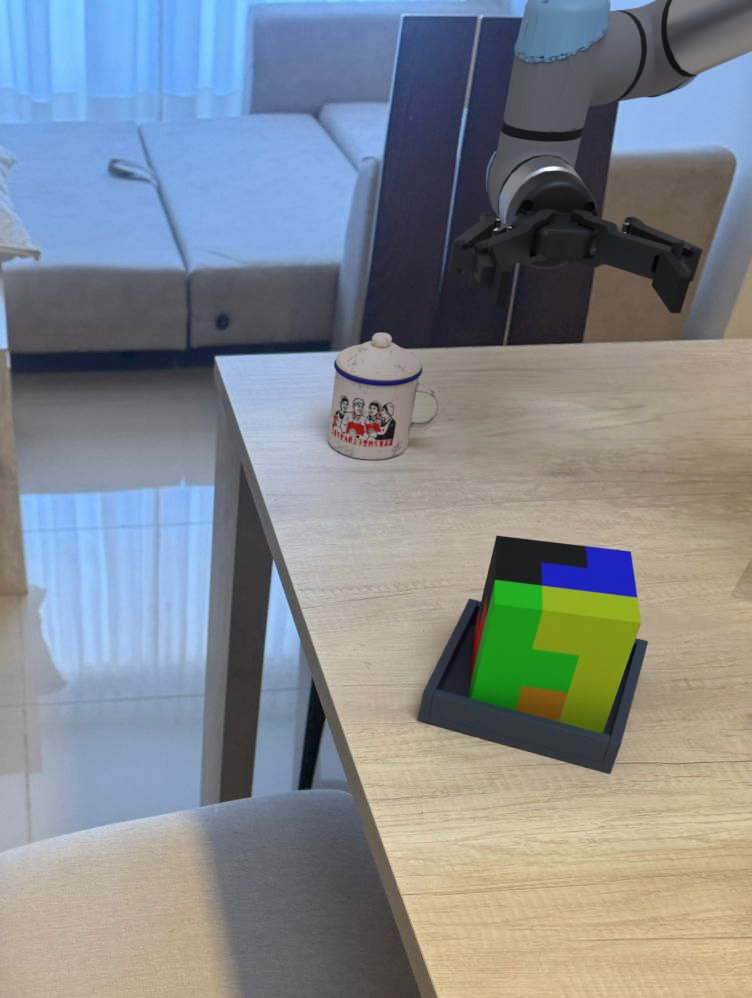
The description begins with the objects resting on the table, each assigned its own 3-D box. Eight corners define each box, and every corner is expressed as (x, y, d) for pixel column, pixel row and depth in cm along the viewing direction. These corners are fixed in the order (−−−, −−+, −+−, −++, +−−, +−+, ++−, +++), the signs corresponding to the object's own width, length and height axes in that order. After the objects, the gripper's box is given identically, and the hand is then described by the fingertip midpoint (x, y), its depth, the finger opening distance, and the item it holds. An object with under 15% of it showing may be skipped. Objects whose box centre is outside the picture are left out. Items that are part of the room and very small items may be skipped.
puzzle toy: (595, 659, 94) (630, 551, 88) (602, 734, 87) (641, 622, 80) (471, 642, 96) (496, 535, 89) (467, 714, 89) (494, 604, 82)
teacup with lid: (315, 453, 124) (327, 343, 116) (338, 419, 130) (350, 314, 122) (425, 473, 120) (445, 362, 112) (443, 438, 127) (464, 330, 119)
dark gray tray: (638, 669, 95) (648, 640, 93) (610, 774, 85) (620, 744, 83) (463, 625, 99) (469, 598, 97) (417, 720, 89) (422, 691, 88)
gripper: (673, 261, 108) (739, 346, 92) (403, 253, 109) (423, 335, 94) (698, 172, 103) (773, 246, 87) (416, 165, 104) (438, 236, 88)
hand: (591, 292), depth 90 cm, fingers open, 13 cm apart
